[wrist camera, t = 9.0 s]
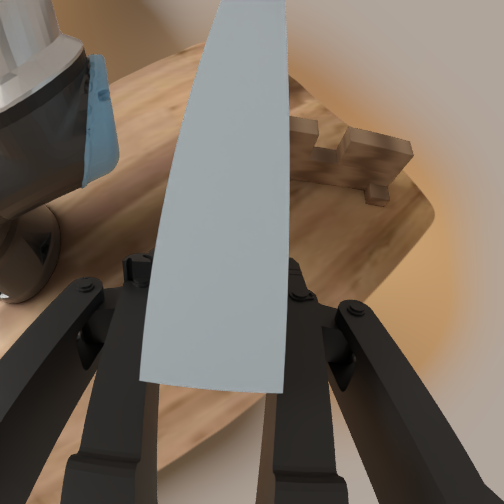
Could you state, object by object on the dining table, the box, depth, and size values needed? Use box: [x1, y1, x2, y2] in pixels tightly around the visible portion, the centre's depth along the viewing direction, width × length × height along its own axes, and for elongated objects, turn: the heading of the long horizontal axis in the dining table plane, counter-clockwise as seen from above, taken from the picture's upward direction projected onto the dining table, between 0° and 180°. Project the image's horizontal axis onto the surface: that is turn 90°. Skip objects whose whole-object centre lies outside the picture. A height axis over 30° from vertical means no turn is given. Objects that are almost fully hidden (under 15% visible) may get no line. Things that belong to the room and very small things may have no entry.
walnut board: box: [289, 116, 414, 207], centre depth 39 cm, size 22×7×10 cm, turn 87°
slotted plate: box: [139, 0, 290, 393], centre depth 16 cm, size 18×2×18 cm, turn 177°
